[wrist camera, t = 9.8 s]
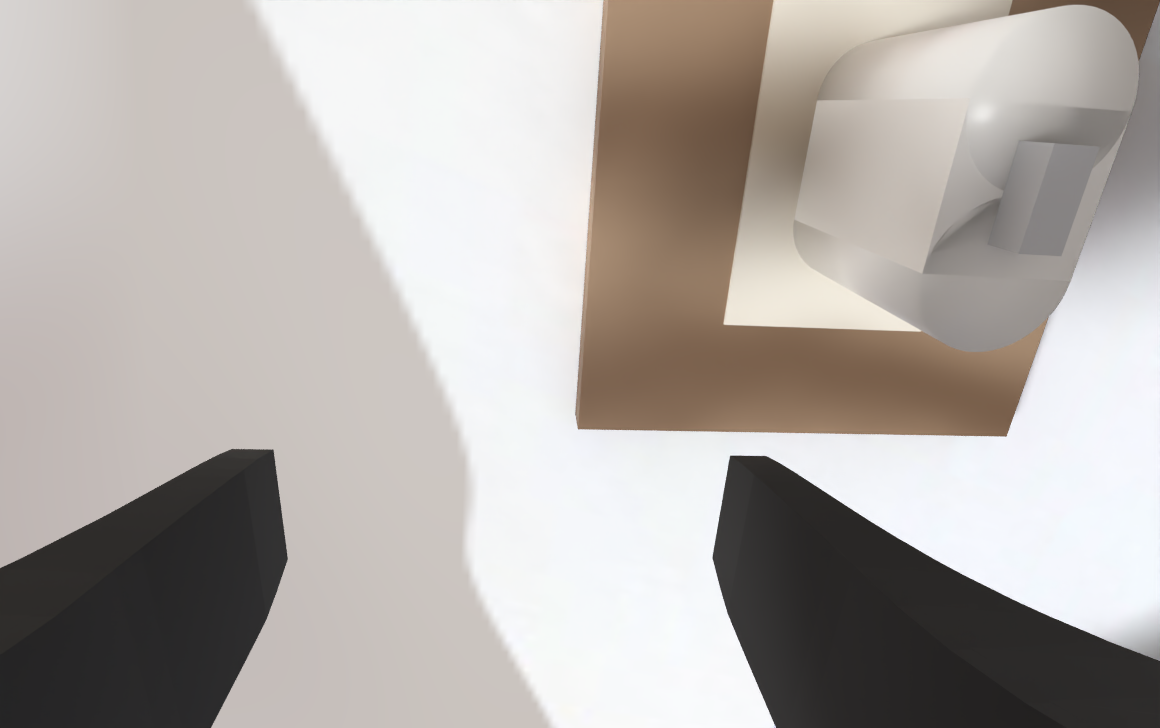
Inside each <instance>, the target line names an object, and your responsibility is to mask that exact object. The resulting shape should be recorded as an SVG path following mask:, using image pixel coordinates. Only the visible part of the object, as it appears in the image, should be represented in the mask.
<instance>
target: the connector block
mask: <svg viewBox="0 0 1160 728" xmlns="http://www.w3.org/2000/svg"><path fill="white" fill-rule="evenodd" d="M1138 83H1139V62H1138V56H1137V51H1136V48H1135V45H1134V42H1133V40H1132V38H1131V36H1130V34H1129V32H1128V31H1127V29H1126V28H1125V27H1124V26H1123V24H1122V23H1121V22H1120V21H1119V20H1118V19H1117V18H1115V17H1114V16H1113V15H1111V14H1110V13H1108V12H1106V11H1104V10H1102V9H1099V8H1097V7H1093V6H1087V5H1067V6H1060V7H1055V8H1049V9H1044V10H1038V11H1033V12H1027V13H1022V14H1016V15H1011V16H1005V17H1000V18H994V19H989V20H983V21H978V22H972V23H967V24H961V25H956V26H950V27H945V28H939V29H934V30H928V31H923V32H917V33H912V34H906V35H901V36H895V37H890V38H884V39H879V40H873V41H869V42H866V43H863V44H861V45H858V46H856V47H855V48H853V49H851V50H850V51H848V52H847V53H846V54H844V55H843V56H842V57H841V58H840V59H839V60H838V61H837V62H836V63H835V64H834V66H833V67H832V68H831V69H830V71H829V72H828V74H827V76H826V77H825V79H824V81H823V83H822V86H821V89H820V91H819V95H818V99H817V103H816V109H815V114H814V119H813V124H812V129H811V135H810V140H809V145H808V150H807V156H806V161H805V166H804V171H803V176H802V182H801V187H800V192H799V197H798V203H797V208H796V213H795V218H794V225H793V236H794V242H795V246H796V249H797V251H798V253H799V255H800V257H801V258H802V260H803V261H804V262H805V263H806V264H807V265H808V266H809V267H810V268H812V269H814V270H815V271H817V272H819V273H820V274H822V275H824V276H826V277H827V278H829V279H831V280H833V281H834V282H836V283H838V284H840V285H842V286H843V287H845V288H847V289H849V290H850V291H852V292H854V293H856V294H857V295H859V296H861V297H863V298H865V299H866V300H868V301H870V302H872V303H873V304H875V305H877V306H879V307H880V308H882V309H884V310H886V311H887V312H889V313H891V314H893V315H895V316H896V317H898V318H900V319H902V320H903V321H905V322H907V323H909V324H910V325H912V326H914V327H916V328H918V329H919V330H921V331H923V332H925V333H926V334H928V335H930V336H932V337H933V338H935V339H937V340H939V341H941V342H942V343H944V344H946V345H948V346H950V347H952V348H955V349H958V350H962V351H968V352H985V351H992V350H996V349H999V348H1003V347H1005V346H1008V345H1010V344H1013V343H1015V342H1017V341H1019V340H1020V339H1022V338H1024V337H1025V336H1027V335H1028V334H1030V333H1031V332H1033V331H1034V330H1035V329H1036V328H1037V327H1039V326H1040V325H1041V324H1042V323H1043V322H1044V321H1045V320H1046V319H1047V318H1048V317H1049V316H1050V315H1051V313H1052V312H1053V311H1054V310H1055V308H1056V307H1057V305H1058V304H1059V303H1060V301H1061V300H1062V298H1063V296H1064V294H1065V292H1066V290H1067V288H1068V286H1069V283H1070V281H1071V278H1072V275H1073V273H1074V270H1075V267H1076V264H1077V262H1078V259H1079V256H1080V253H1081V251H1082V248H1083V245H1084V242H1085V240H1086V237H1087V234H1088V231H1089V229H1090V226H1091V223H1092V220H1093V218H1094V215H1095V212H1096V209H1097V207H1098V204H1099V201H1100V198H1101V196H1102V193H1103V190H1104V187H1105V185H1106V182H1107V179H1108V176H1109V174H1110V171H1111V168H1112V165H1113V163H1114V160H1115V157H1116V154H1117V152H1118V149H1119V146H1120V143H1121V141H1122V138H1123V135H1124V132H1125V130H1126V127H1127V124H1128V121H1129V119H1130V116H1131V113H1132V110H1133V107H1134V104H1135V100H1136V96H1137V91H1138Z"/></svg>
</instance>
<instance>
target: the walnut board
mask: <svg viewBox="0 0 1160 728" xmlns="http://www.w3.org/2000/svg"><path fill="white" fill-rule="evenodd" d="M1159 2H1160V0H604V2H603V17H602V32H601V46H600V61H599V76H598V90H597V105H596V120H595V135H594V149H593V164H592V179H591V193H590V208H589V223H588V237H587V252H586V267H585V282H584V296H583V311H582V326H581V340H580V355H579V370H578V385H577V399H576V420H577V426H578V429H601V430H659V431H718V432H777V433H835V434H894V435H953V436H1007V433H1008V431H1009V428H1010V425H1011V422H1012V419H1013V416H1014V414H1015V411H1016V408H1017V405H1018V402H1019V399H1020V396H1021V394H1022V391H1023V388H1024V385H1025V382H1026V379H1027V377H1028V374H1029V371H1030V368H1031V365H1032V362H1033V360H1034V357H1035V354H1036V351H1037V348H1038V345H1039V343H1040V340H1041V337H1042V334H1043V331H1044V328H1045V326H1046V323H1047V320H1048V318H1047V319H1046V320H1045V321H1044V322H1043V323H1042V324H1041V325H1040V326H1039V327H1037V328H1036V329H1035V330H1034V331H1033V332H1031V333H1030V334H1028V335H1027V336H1025V337H1024V338H1022V339H1020V340H1019V341H1017V342H1015V343H1013V344H1010V345H1008V346H1005V347H1003V348H999V349H996V350H992V351H985V352H968V351H962V350H958V349H955V348H952V347H950V346H948V345H946V344H944V343H942V342H941V341H939V340H937V339H935V338H933V337H932V336H930V335H928V334H926V333H925V332H923V331H921V330H919V329H918V328H916V327H914V326H912V325H910V324H909V323H907V322H905V321H903V320H902V319H900V318H898V317H896V316H895V315H893V314H891V313H889V312H887V311H886V310H884V309H882V308H880V307H879V306H877V305H875V304H873V303H872V302H870V301H868V300H866V299H865V298H863V297H861V296H859V295H857V294H856V293H854V292H852V291H850V290H849V289H847V288H845V287H843V286H842V285H840V284H838V283H836V282H834V281H833V280H831V279H829V278H827V277H826V276H824V275H822V274H820V273H819V272H817V271H815V270H814V269H812V268H810V267H809V266H808V265H807V264H806V263H805V262H804V261H803V260H802V258H801V257H800V255H799V253H798V251H797V249H796V246H795V242H794V236H793V225H794V218H795V213H796V208H797V203H798V197H799V192H800V187H801V182H802V176H803V171H804V166H805V161H806V156H807V150H808V145H809V140H810V135H811V129H812V124H813V119H814V114H815V109H816V103H817V99H818V95H819V91H820V89H821V86H822V83H823V81H824V79H825V77H826V76H827V74H828V72H829V71H830V69H831V68H832V67H833V66H834V64H835V63H836V62H837V61H838V60H839V59H840V58H841V57H842V56H843V55H844V54H846V53H847V52H848V51H850V50H851V49H853V48H855V47H856V46H858V45H861V44H863V43H866V42H869V41H873V40H879V39H884V38H890V37H895V36H901V35H906V34H912V33H917V32H923V31H928V30H934V29H939V28H945V27H950V26H956V25H961V24H967V23H972V22H978V21H983V20H989V19H994V18H1000V17H1005V16H1011V15H1016V14H1022V13H1027V12H1033V11H1038V10H1044V9H1049V8H1055V7H1060V6H1067V5H1087V6H1093V7H1097V8H1099V9H1102V10H1104V11H1106V12H1108V13H1110V14H1111V15H1113V16H1114V17H1115V18H1117V19H1118V20H1119V21H1120V22H1121V23H1122V24H1123V26H1124V27H1125V28H1126V29H1127V31H1128V32H1129V34H1130V36H1131V38H1132V40H1133V42H1134V45H1135V48H1136V51H1137V56H1138V62H1139V59H1140V56H1141V53H1142V50H1143V48H1144V45H1145V42H1146V39H1147V36H1148V33H1149V31H1150V28H1151V25H1152V22H1153V19H1154V16H1155V14H1156V11H1157V8H1158V5H1159Z"/></svg>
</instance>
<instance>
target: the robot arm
mask: <svg viewBox="0 0 1160 728" xmlns="http://www.w3.org/2000/svg"><path fill="white" fill-rule="evenodd" d="M287 559H288V558H287V550H286V543H285V535H284V527H283V520H282V513H281V504H280V497H279V490H278V481H277V474H276V466H275V459H274V451H273V450H253V449H231V450H229V451H226V452H224V453H222V454H219V455H217V456H215V457H213V458H211V459H209V460H207V461H205V462H203V463H201V464H199V465H198V466H196V467H194V468H192V469H190V470H188V471H186V472H185V473H183V474H181V475H179V476H177V477H175V478H174V479H172V480H170V481H168V482H166V483H165V484H163V485H161V486H159V487H157V488H155V489H154V490H152V491H150V492H148V493H146V494H144V495H143V496H141V497H139V498H137V499H135V500H134V501H132V502H130V503H128V504H126V505H124V506H122V507H121V508H119V509H117V510H115V511H113V512H111V513H110V514H108V515H106V516H104V517H102V518H100V519H98V520H96V521H94V522H92V523H90V524H89V525H86V526H84V527H82V528H81V529H78V530H77V531H74V532H73V533H71V534H69V535H67V536H65V537H63V538H61V539H59V540H57V541H55V542H53V543H51V544H49V545H47V546H45V547H43V548H41V549H39V550H37V551H35V552H33V553H31V554H29V555H27V556H25V557H23V558H21V559H19V560H17V561H15V562H13V563H11V564H8V565H6V566H4V567H2V568H0V728H211V726H212V725H213V723H214V721H215V719H216V717H217V715H218V713H219V711H220V709H221V707H222V705H223V703H224V701H225V699H226V698H227V696H228V694H229V692H230V690H231V688H232V686H233V684H234V682H235V680H236V678H237V676H238V674H239V672H240V671H241V669H242V667H243V664H244V663H245V661H246V659H247V657H248V655H249V653H250V651H251V649H252V647H253V645H254V643H255V641H256V639H257V637H258V635H259V633H260V631H261V629H262V627H263V625H264V623H265V621H266V619H267V616H268V614H269V611H270V608H271V606H272V603H273V600H274V598H275V595H276V592H277V589H278V586H279V583H280V580H281V577H282V574H283V571H284V568H285V566H286V563H287ZM713 561H714V565H715V569H716V573H717V577H718V581H719V585H720V588H721V592H722V595H723V599H724V602H725V606H726V609H727V613H728V615H729V618H730V620H731V623H732V625H733V627H734V630H735V632H736V635H737V637H738V639H739V642H740V644H741V647H742V649H743V651H744V654H745V656H746V659H747V661H748V663H749V666H750V668H751V670H752V673H753V675H754V677H755V680H756V682H757V684H758V687H759V689H760V691H761V694H762V696H763V698H764V701H765V703H766V705H767V708H768V710H769V712H770V715H771V717H772V719H773V722H774V724H775V725H774V728H1160V661H1158V660H1155V659H1153V658H1150V657H1147V656H1145V655H1142V654H1140V653H1137V652H1134V651H1132V650H1129V649H1127V648H1124V647H1121V646H1119V645H1116V644H1114V643H1111V642H1109V641H1106V640H1104V639H1102V638H1099V637H1097V636H1095V635H1092V634H1090V633H1087V632H1085V631H1083V630H1080V629H1078V628H1076V627H1073V626H1071V625H1069V624H1066V623H1064V622H1061V621H1059V620H1057V619H1054V618H1052V617H1050V616H1047V615H1045V614H1043V613H1041V612H1038V611H1036V610H1034V609H1032V608H1030V607H1028V606H1025V605H1023V604H1021V603H1019V602H1017V601H1015V600H1012V599H1010V598H1008V597H1006V596H1004V595H1002V594H1000V593H998V592H996V591H994V590H992V589H990V588H988V587H986V586H984V585H982V584H980V583H978V582H976V581H974V580H972V579H970V578H968V577H966V576H964V575H962V574H960V573H958V572H957V571H955V570H953V569H951V568H949V567H947V566H945V565H944V564H942V563H940V562H938V561H936V560H934V559H933V558H931V557H929V556H928V555H926V554H924V553H922V552H921V551H919V550H917V549H915V548H914V547H912V546H910V545H909V544H907V543H905V542H903V541H902V540H900V539H898V538H896V537H895V536H893V535H892V534H890V533H888V532H887V531H885V530H883V529H882V528H880V527H878V526H877V525H875V524H874V523H872V522H870V521H869V520H867V519H866V518H864V517H862V516H861V515H859V514H858V513H856V512H855V511H853V510H852V509H850V508H848V507H847V506H845V505H844V504H842V503H841V502H839V501H838V500H836V499H835V498H833V497H832V496H830V495H828V494H827V493H825V492H824V491H822V490H821V489H819V488H818V487H816V486H815V485H813V484H812V483H810V482H809V481H807V480H806V479H804V478H802V477H801V476H799V475H798V474H796V473H795V472H793V471H791V470H790V469H788V468H787V467H785V466H783V465H782V464H780V463H778V462H776V461H775V460H773V459H771V458H769V457H767V456H730V459H729V465H728V471H727V477H726V482H725V488H724V494H723V500H722V506H721V511H720V517H719V523H718V529H717V534H716V540H715V546H714V552H713Z"/></svg>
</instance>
